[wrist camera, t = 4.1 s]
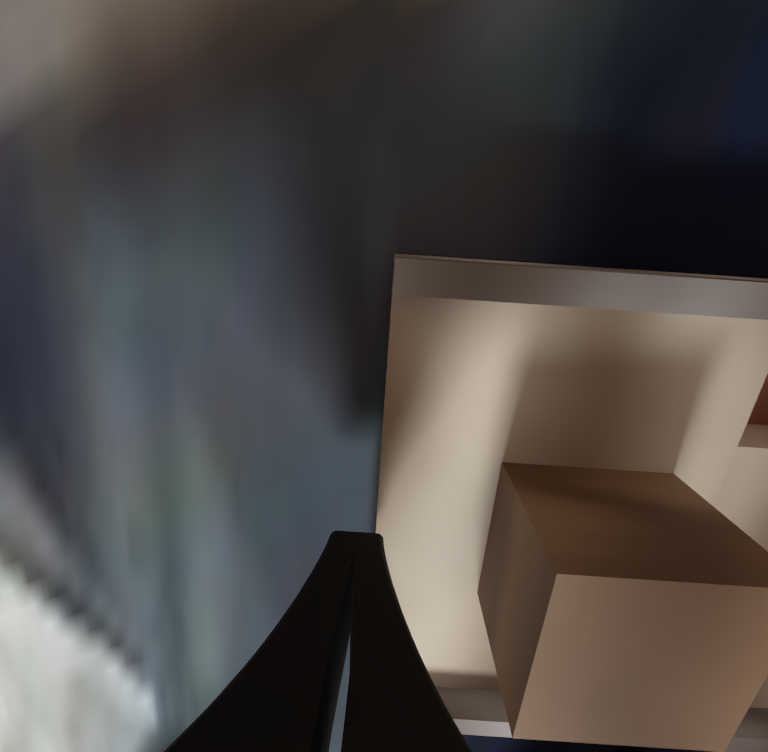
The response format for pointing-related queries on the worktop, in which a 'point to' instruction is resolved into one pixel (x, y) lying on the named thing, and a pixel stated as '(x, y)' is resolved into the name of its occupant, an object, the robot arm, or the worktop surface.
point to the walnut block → (621, 609)
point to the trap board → (555, 425)
